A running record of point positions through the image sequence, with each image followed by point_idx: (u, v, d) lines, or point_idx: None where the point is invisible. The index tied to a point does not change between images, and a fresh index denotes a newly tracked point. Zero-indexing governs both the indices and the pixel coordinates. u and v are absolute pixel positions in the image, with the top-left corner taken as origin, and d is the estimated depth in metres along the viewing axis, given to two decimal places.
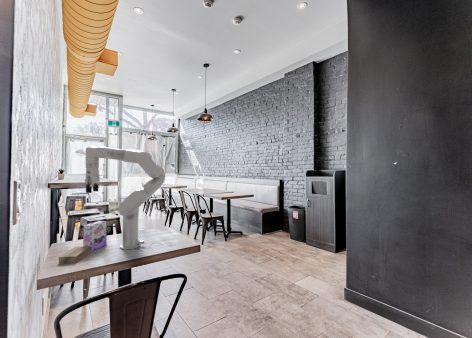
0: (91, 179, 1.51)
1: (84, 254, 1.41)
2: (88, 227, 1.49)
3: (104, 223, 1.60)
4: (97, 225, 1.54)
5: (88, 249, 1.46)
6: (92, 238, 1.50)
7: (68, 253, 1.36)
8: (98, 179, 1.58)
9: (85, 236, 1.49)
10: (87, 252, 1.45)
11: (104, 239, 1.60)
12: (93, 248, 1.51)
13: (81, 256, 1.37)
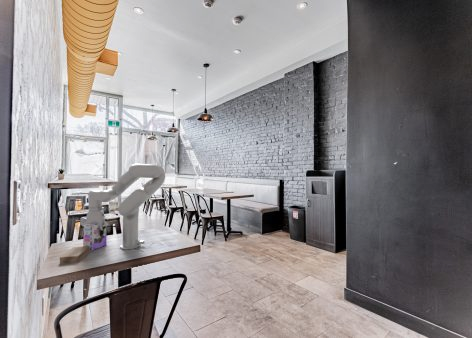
0: (104, 221, 1.58)
1: (84, 254, 1.41)
2: (88, 227, 1.49)
3: None
4: (97, 225, 1.54)
5: (87, 249, 1.46)
6: (92, 238, 1.50)
7: (68, 253, 1.36)
8: None
9: (85, 236, 1.49)
10: (87, 252, 1.45)
11: (104, 239, 1.60)
12: (93, 248, 1.51)
13: (82, 256, 1.38)
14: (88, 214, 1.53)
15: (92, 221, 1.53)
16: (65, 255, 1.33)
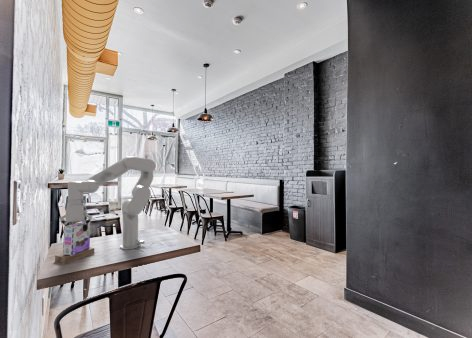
0: None
1: (81, 256, 1.38)
2: (70, 228, 1.32)
3: (88, 224, 1.44)
4: (80, 226, 1.38)
5: (90, 251, 1.43)
6: (73, 241, 1.33)
7: None
8: None
9: (66, 238, 1.33)
10: (88, 255, 1.42)
11: (87, 241, 1.44)
12: (75, 252, 1.35)
13: (75, 258, 1.35)
14: (68, 208, 1.37)
15: (72, 215, 1.37)
16: (61, 254, 1.35)
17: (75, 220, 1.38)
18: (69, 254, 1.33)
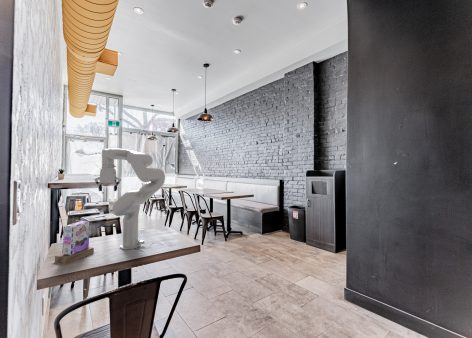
0: None
1: (81, 256, 1.39)
2: (69, 228, 1.33)
3: (87, 224, 1.44)
4: (79, 226, 1.38)
5: (89, 251, 1.44)
6: (73, 240, 1.34)
7: None
8: None
9: (65, 238, 1.33)
10: (88, 254, 1.43)
11: (86, 241, 1.44)
12: (74, 252, 1.35)
13: (76, 258, 1.35)
14: (101, 171, 1.63)
15: (105, 177, 1.64)
16: (61, 254, 1.35)
17: (107, 181, 1.64)
18: (68, 254, 1.33)
